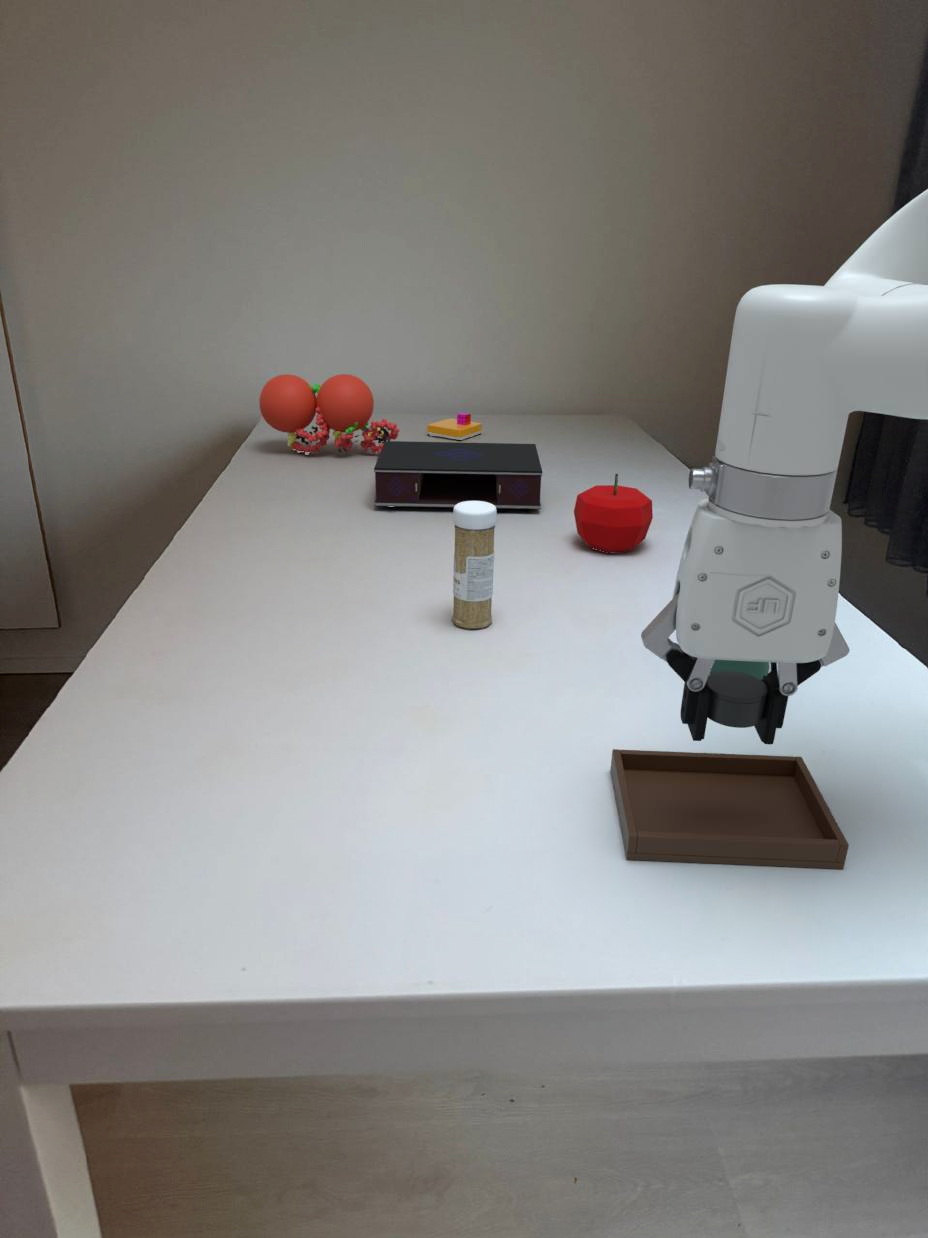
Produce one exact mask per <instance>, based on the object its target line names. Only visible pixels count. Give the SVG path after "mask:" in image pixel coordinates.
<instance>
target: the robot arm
mask: <svg viewBox="0 0 928 1238" xmlns="http://www.w3.org/2000/svg"><path fill="white" fill-rule="evenodd" d="M734 315H735V316H734V320H733V326H732V332H731V340H730V347H729V354H728V361H727V369H726V375H725V382H724V390H723V397H722V404H721V411H720V417H719V424H718V431H717V438H716V445H715V450H714V451H715V452H714V455H711V458H710V459H711V460H710V462H708V464H707V466H702V468H690V470H689V473H688V489H689V490H700V492H701V493H702V492H703V493H705V494H706V495H707V497H708V498H704V499H701V500H700V501H699V502H698V503H697V506H696V508H695V511H694V513H693V516H692V519H691V522H690V525H689V528H688V531H687V535H686V538H685V541H684V545H683V549H682V553H681V557H680V560H679V565H678V570H677V574H676V578H675V584H674V588H673V593H672V599H671V600H670V601H669V602H668V603H667V604H666V605H665V607H664V608H663V609H662V610H661V611H660V612H658V614H657V615H656V616H655V617H654V618H653V620H651V622H650V623H649V624H648V625H647V626H646V627H645V628H644V629H643V630H642V632H641V633H640V638H641V641H642V644H643V646H644V648H645V649H647V650H648V651H650V652H651V653H652V654H654V655H655V656H657V657H658V658H659V659H661V660H663V661H665V662H666V663H667V665H668V666H669V667H670V668H671V669H672V670H673V671H674V672H675V673H676V675H677V676H678V677H680V679H681V680H682V681H683V682H684V683H683V691H682V697H681V705H680V711H679V712H680V720H681V724H683V725H687V728H688V730H689V732H690V735H691V738H692V741H693V742H702V740H705V736H706V730H707V723H708V719H709V718H708V712H709V705H710V699H711V693H710V691H709V688H708V687H707V683H708V681H707V679H708V677H709V675H710V672H711V669H712V667H713V665H714V662H715V660H732V661H753V662H769V672H768V674H767V676H763V679H761V681H763V682H764V683H765V684H766V686H767V688H768V692H767V697H766V703H765V708H764V714H763V718H762V721H761V722H760V723H759V724H757V725H755V726H753V727H754V729H755V731H756V734H757V735H758V737H759V739H760V741H761V743H764V745H773V744H774V742H775V737H776V732H777V729H782V728H783V725H784V721H785V717H786V711H787V705H788V701H789V697H790V696H794V695H795V694H796V693H797V691H798V686H800V685H801V684H803V683H804V682H806V681H807V680H808V679H810V678H811V677H813V676H814V675H815V674H817V673H818V672H819V671H820V670H821V668H823V667H827V666H829V665H831V664H833V663H835V662H837V661H839V660H842V659H843V658H845V657H847V656H848V654H849V653H850V647H849V645H848V644H847V641H846V640H845V637H844V636H843V634H842V632H841V630H840V629H839V627H838V625H837V622H836V616H837V609H838V602H839V591H840V581H841V567H842V553H843V525H842V518H841V517H840V515H838V514H837V513H835V512H834V511H833V510H831V504H832V500H833V499H832V498H833V494H834V493H833V492H834V489H835V484H836V479H837V474H838V468H839V464H840V459H841V454H842V450H843V445H844V439H845V435H846V429H847V424H848V419H849V416H850V414H851V413H853V412H866V413H874V414H882V415H887V416H894V417H899V418H907V419H915V420H928V188H927V189H926V190H924V191H922V193H920V194H918V195H917V196H915V197H914V198H912V200H910V201H909V202H908V203H906V204H904V206H903V207H901V208H900V209H899V210H897V211H896V212H895V213H893V215H892V216H890V217H889V218H888V219H887V220H886V221H885V222H884V223H882V224H881V225H880V226H879V227H878V228H877V229H876V230H875V231H874V232H873V233H872V234H871V235H870V236H869V237H868V238H867V239H866V240H865V241H864V242H863V243H862V244H861V246H859V247H858V248H857V250H855V251H854V252H853V254H852V255H851V256H850V257H849V258H848V259H847V260H846V261H845V262H844V263H843V264H842V265H841V266H840V267H839V269H837V270H836V272H835V273H834V274H833V275H832V276H831V277H830V278H829V279H828V280H827V282H826V283H825V284H824V285H813V284H812V285H811V284H791V283H789V284H788V283H787V284H786V283H782V284H779V283H778V284H777V283H776V284H765V285H759V286H756V287H752V288H751V289H749V290H748V291H747V292H746V293H745V294H743V295H742V296H741V299H740V300H739V302H738V304H737V306H736V309H735V314H734ZM674 632H675V639H676V641H677V642H674V641H673V640H672V639H671V638H670V636H671V635H672V634H673V633H674Z"/></svg>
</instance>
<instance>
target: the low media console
mask: <svg viewBox="0 0 928 1238" xmlns="http://www.w3.org/2000/svg"><path fill="white" fill-rule="evenodd" d="M383 442H384V441H383ZM373 472H374V479H375V481H374V482H375V501H374V507H387V506H395V507H404V508H405V507H407V508H412V507H413V508H454V506H455V505H456V504H458V503H460V502H465V501H483V502H488V503H491V504H493V505H494V506H495V507H496V509H506V510H507V509H508V510H510V509H511V510H512V509H514V510H521V509H529V510H542V509H541V505H542V504H541V489H542V488H541V487H542V476H543V469H542V464H541V461H540V457H539V453H538V448H537V445H536V443H513V442H512V443H511V442H510V443H505V442H504V443H503V442H502V443H501V442H460V441H455V442H454V441H451V442H450V441H403V440H402V441H401V440H399V441H398V440H395V441H394V440H390V441H387V440H386V441H385V442H384V444H383V447H382V449H381V452H380V454H378V457H377V460H376V462H375V465H374V467H373Z"/></svg>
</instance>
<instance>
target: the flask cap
mask: <svg viewBox="0 0 928 1238" xmlns="http://www.w3.org/2000/svg"><path fill="white" fill-rule="evenodd" d="M707 681H708V683H707V687H708V688H709V691H710V693H711V699H710V705H709V712H708V718H707V719H709V720H710V721H712V722H714V723H716V724H718V725H721V726H724V727H730V728H735V729H745V728H746V729H747V728H752V727H754V726H755V725H757V724H759V723H760V722H761V721H762V718H763V714H764V708H765V703H766V697H767V692H768V688H767V686H766V684H765V683H764V682H763V681H761V680H760V679H758V678H756V677H754V676H752V675H749V674H745V673H741V672H735V671H720V672H715V673H712V674H709V677H708V679H707Z"/></svg>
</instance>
